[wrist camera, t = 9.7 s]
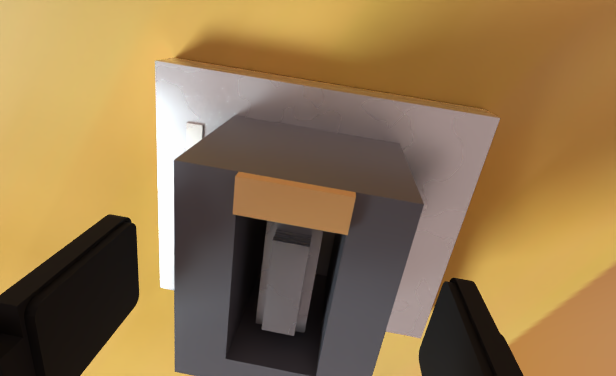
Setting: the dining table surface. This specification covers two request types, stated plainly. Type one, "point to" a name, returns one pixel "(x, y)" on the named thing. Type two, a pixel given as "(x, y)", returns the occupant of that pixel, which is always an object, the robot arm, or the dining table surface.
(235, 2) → the dining table surface
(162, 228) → the post
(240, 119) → the gray rectangular sleeve
